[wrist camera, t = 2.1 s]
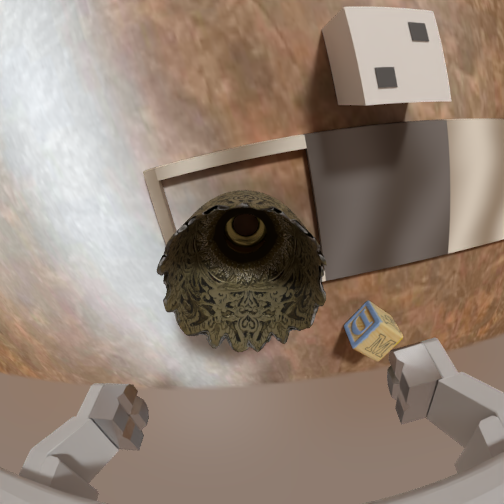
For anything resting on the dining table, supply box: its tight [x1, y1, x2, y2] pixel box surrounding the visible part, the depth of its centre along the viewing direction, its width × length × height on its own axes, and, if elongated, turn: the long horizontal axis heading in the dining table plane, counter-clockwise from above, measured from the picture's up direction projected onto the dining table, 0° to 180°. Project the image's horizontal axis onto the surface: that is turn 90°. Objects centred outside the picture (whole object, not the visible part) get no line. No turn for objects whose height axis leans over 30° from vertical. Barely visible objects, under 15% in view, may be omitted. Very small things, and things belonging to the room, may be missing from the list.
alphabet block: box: [344, 301, 403, 361], centre depth 23 cm, size 3×3×3 cm
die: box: [322, 7, 451, 106], centre depth 14 cm, size 5×5×5 cm
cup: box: [157, 190, 327, 352], centre depth 17 cm, size 8×7×8 cm
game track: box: [143, 119, 504, 282], centre depth 20 cm, size 30×10×1 cm, turn 102°
